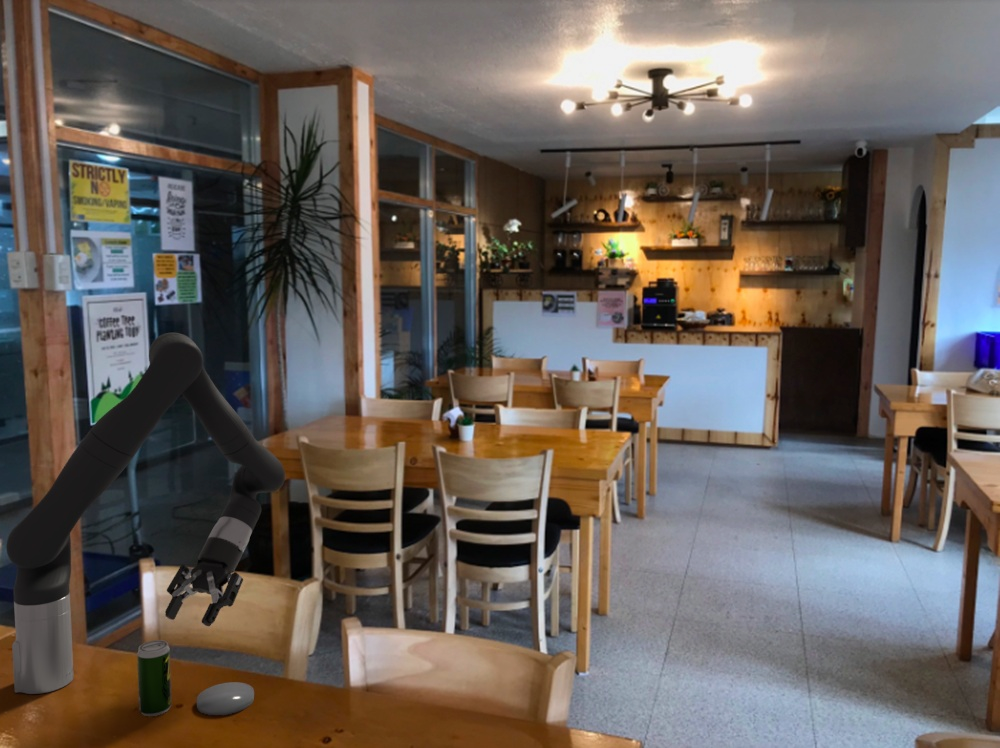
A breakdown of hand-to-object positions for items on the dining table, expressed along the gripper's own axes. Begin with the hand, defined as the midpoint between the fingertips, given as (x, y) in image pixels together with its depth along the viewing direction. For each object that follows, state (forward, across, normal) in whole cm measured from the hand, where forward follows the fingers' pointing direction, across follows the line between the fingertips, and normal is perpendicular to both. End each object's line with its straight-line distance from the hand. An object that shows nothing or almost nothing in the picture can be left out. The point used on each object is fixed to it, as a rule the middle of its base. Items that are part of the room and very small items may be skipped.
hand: (187, 621), depth 148 cm
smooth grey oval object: (+10, +10, +8) cm, 17 cm away
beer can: (+15, 0, +4) cm, 16 cm away
